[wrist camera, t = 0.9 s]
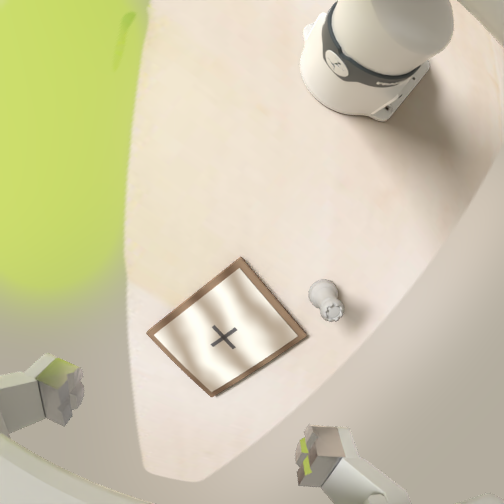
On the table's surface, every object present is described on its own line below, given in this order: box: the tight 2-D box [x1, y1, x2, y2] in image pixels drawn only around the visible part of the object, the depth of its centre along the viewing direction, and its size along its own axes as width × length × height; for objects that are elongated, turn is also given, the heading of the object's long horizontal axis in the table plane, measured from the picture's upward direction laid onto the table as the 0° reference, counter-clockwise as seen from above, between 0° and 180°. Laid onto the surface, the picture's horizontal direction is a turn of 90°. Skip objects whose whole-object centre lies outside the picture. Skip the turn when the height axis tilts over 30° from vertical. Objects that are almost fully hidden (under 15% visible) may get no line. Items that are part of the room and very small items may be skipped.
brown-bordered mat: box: [146, 257, 306, 397], centre depth 47 cm, size 20×16×1 cm
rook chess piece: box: [309, 279, 344, 322], centre depth 42 cm, size 4×4×8 cm
